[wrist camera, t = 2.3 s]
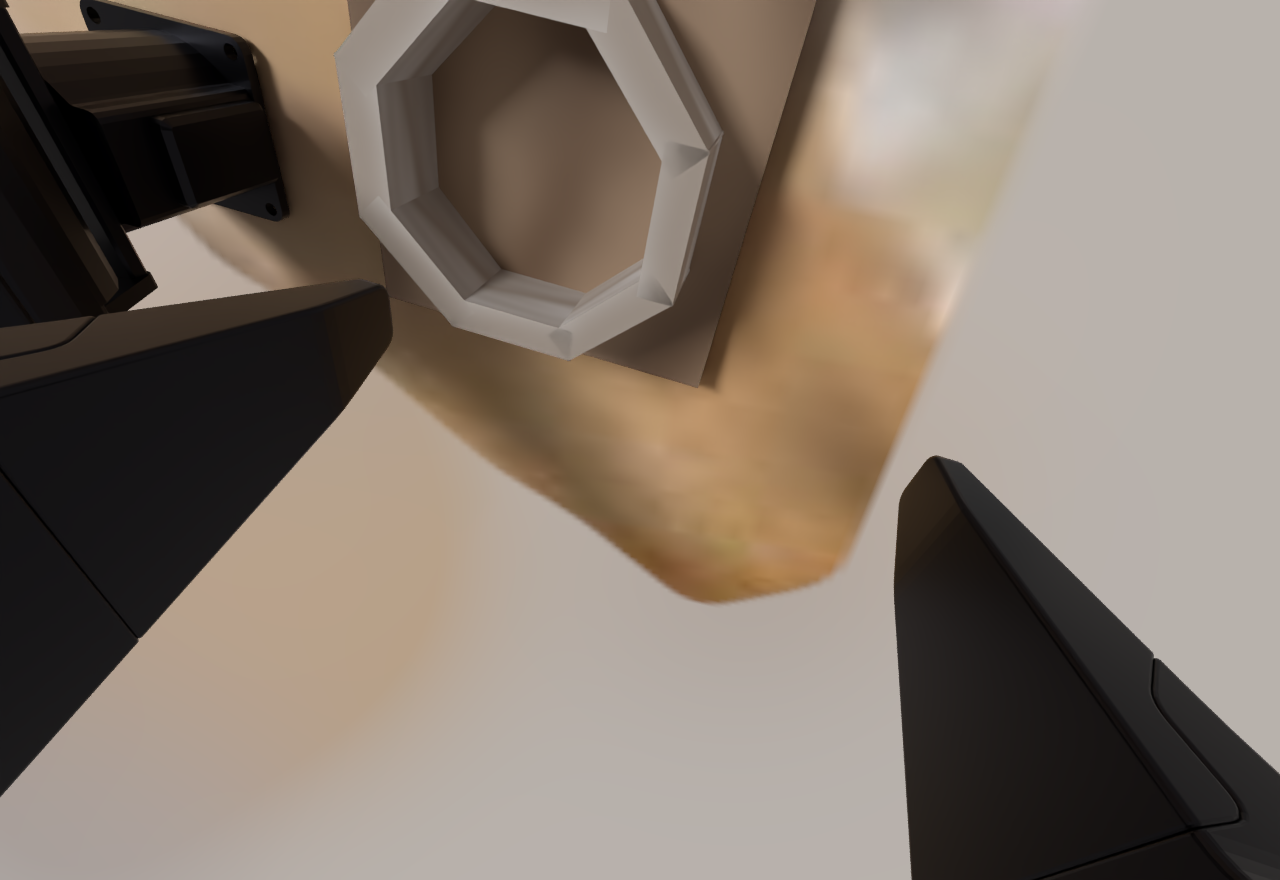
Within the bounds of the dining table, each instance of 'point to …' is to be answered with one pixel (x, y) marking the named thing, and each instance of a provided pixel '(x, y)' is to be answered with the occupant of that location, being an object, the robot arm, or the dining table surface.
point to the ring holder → (567, 162)
